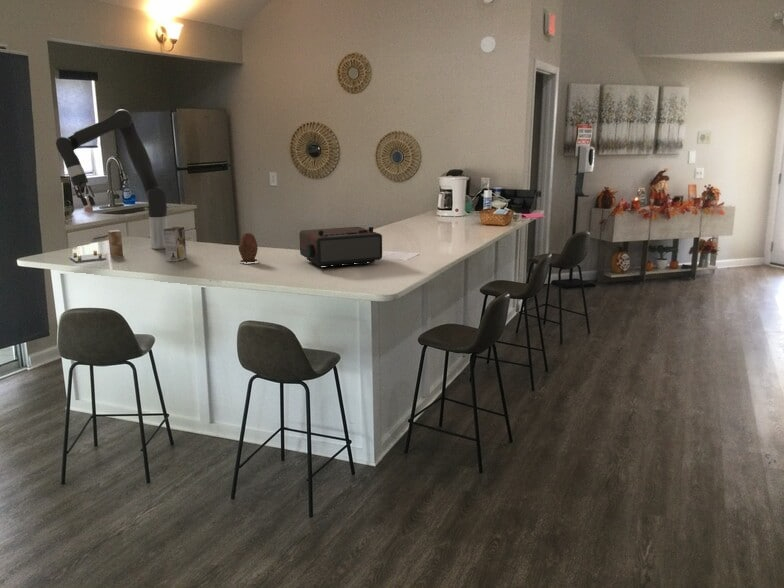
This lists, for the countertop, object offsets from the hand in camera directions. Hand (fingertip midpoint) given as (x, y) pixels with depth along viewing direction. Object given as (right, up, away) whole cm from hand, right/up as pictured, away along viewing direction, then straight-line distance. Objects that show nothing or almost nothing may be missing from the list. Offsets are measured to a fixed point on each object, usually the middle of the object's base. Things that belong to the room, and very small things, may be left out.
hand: (89, 205), depth 350 cm
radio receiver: (+130, -31, -20) cm, 135 cm away
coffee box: (+48, -29, -11) cm, 57 cm away
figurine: (+86, -31, -18) cm, 93 cm away
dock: (+3, -28, -8) cm, 29 cm away
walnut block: (+14, -26, 0) cm, 29 cm away
